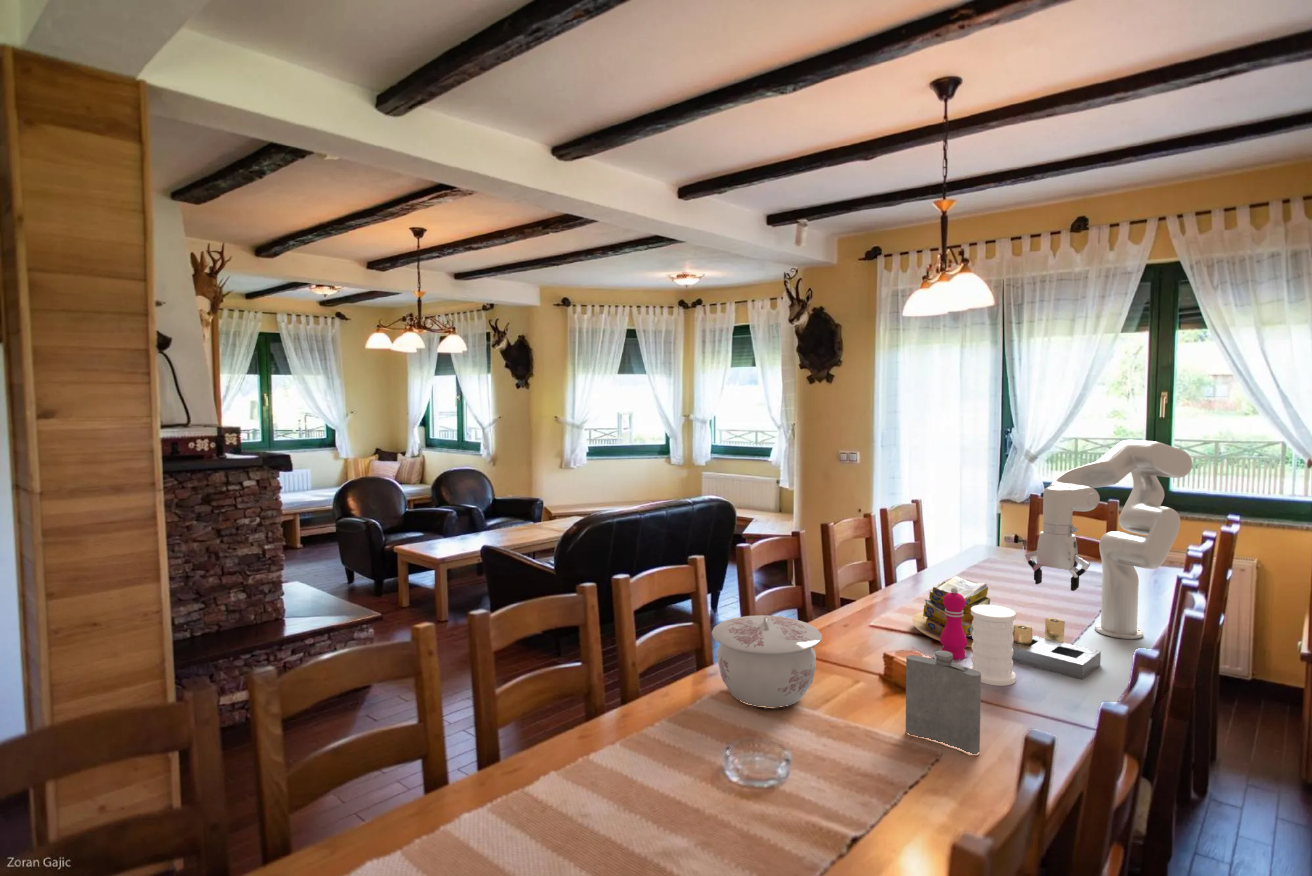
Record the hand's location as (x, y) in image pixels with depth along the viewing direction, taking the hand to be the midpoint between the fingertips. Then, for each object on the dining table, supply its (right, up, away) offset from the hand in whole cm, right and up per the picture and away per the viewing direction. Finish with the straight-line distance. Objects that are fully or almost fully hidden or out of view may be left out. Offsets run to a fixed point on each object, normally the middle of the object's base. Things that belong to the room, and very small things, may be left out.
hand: (1055, 586), depth 212 cm
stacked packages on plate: (-24, -18, +14) cm, 33 cm away
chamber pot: (-89, -22, -30) cm, 97 cm away
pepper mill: (-32, -19, -4) cm, 38 cm away
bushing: (0, -18, +1) cm, 18 cm away
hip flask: (-55, -23, -54) cm, 80 cm away
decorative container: (-28, -20, -19) cm, 40 cm away
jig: (-8, -19, -9) cm, 22 cm away
